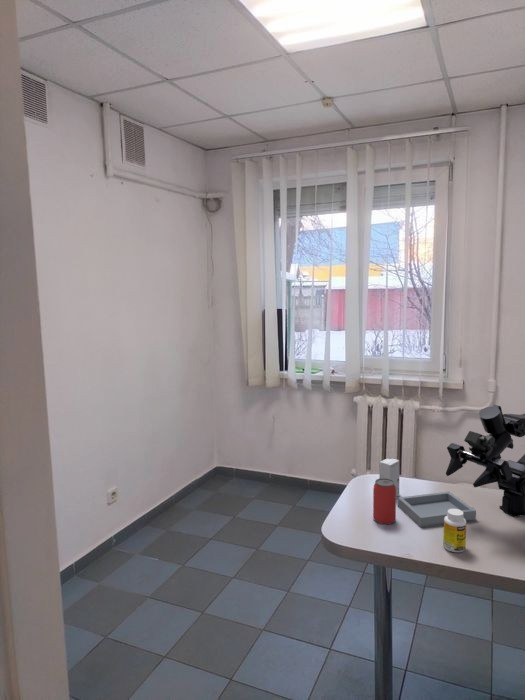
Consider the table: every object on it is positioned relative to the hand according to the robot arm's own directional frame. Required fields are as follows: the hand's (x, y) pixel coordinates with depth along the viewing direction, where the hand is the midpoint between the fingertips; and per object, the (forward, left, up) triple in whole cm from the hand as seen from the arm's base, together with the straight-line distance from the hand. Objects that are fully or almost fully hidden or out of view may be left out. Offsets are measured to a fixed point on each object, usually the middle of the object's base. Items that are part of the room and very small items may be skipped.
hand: (459, 480), depth 136 cm
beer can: (+17, -12, -16) cm, 26 cm away
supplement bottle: (+6, +7, -16) cm, 18 cm away
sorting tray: (0, -12, -16) cm, 20 cm away
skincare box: (+8, -27, -16) cm, 32 cm away
